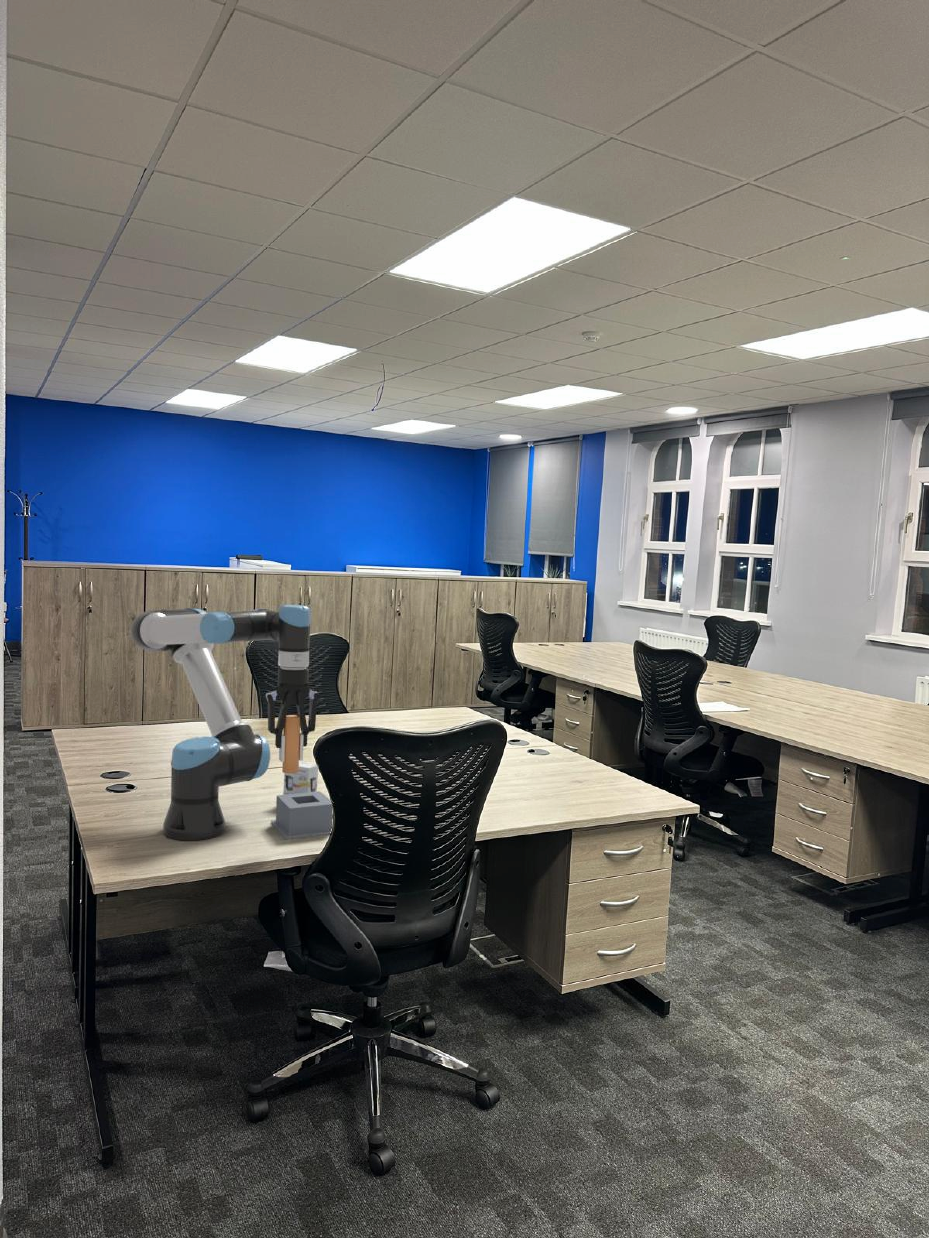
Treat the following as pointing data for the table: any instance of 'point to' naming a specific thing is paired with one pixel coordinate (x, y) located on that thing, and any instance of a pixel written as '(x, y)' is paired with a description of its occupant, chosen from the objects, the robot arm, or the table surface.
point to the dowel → (291, 744)
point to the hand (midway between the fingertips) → (290, 759)
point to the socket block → (303, 815)
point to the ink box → (301, 779)
